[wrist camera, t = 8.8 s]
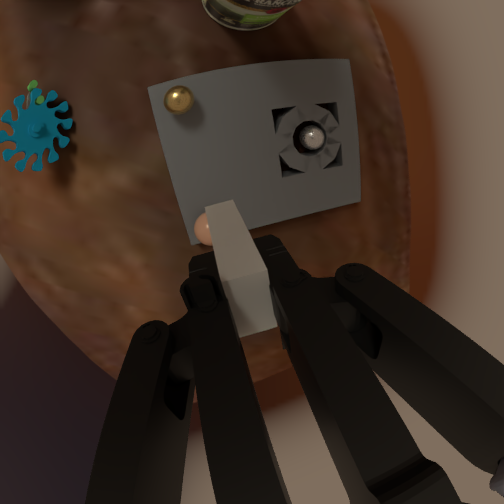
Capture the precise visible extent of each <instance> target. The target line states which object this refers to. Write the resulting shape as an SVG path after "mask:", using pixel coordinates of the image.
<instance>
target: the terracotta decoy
mask: <svg viewBox="0 0 504 504" xmlns="http://www.w3.org/2000/svg"><path fill="white" fill-rule="evenodd" d="M194 232H195V236H196V237H197V239H198V240H199V241H200V242H201V243H203V244H205V245H208V246H213V244H212V240H211V235H210V230H209V226H208V221H207V216H206V212H205V213H203V214H201V215H200V216H199V217H198V218H197V220H196V222H195V225H194Z"/></svg>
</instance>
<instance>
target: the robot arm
mask: <svg viewBox="0 0 504 504" xmlns="http://www.w3.org/2000/svg"><path fill="white" fill-rule="evenodd" d="M205 211H206V216H207V221H208V226H209V230H210V235H211V240H212V244H213V249H214V251H211V252H208V253H204V254H201V255H197V256H193V257H192V259H191V261H190V263H189V278H188V279H186V280H185V281H184V282H183V284H182V285H181V287H180V293H181V296H182V298H183V300H184V303H185V305H186V307H187V309H188V312H187V313H186V314H185V315H184V316H183V317H182V318H181V319H179V320H178V321H176V322H174V323H172V324H170V325H167V324H166V323H165V322H163V321H159V320H154V321H149V322H147V323H145V324H143V325H141V326H140V327H139V328H138V329H137V330H136V332H135V333H134V335H133V337H132V340H131V343H130V345H129V348H128V351H127V354H126V356H125V359H124V362H123V365H122V368H121V371H120V374H119V377H118V380H117V383H116V386H115V389H114V392H113V395H112V398H111V401H110V404H109V408H108V411H107V415H106V418H105V421H104V425H103V428H102V432H101V436H100V439H99V443H98V447H97V451H96V455H95V459H94V463H93V468H92V472H91V476H90V481H89V486H88V491H87V496H86V501H85V504H180V501H181V491H182V483H183V474H184V465H185V457H186V448H187V441H188V433H189V426H190V425H189V424H190V418H191V411H192V404H193V397H194V390H195V385H196V392H197V400H198V407H199V413H200V420H201V426H202V432H203V438H204V444H205V450H206V455H207V461H208V466H209V471H210V476H211V480H212V485H213V489H214V494H215V499H216V502H217V504H292V503H291V500H290V497H289V495H288V491H287V488H286V486H285V483H284V480H283V477H282V474H281V471H280V468H279V465H278V462H277V459H276V456H275V453H274V450H273V447H272V444H271V441H270V437H269V434H268V431H267V428H266V425H265V421H264V418H263V415H262V412H261V408H260V405H259V402H258V399H257V395H256V392H255V389H254V385H253V382H252V378H251V375H250V371H249V368H248V364H247V361H246V357H245V354H244V350H243V347H242V344H241V341H240V337H244V336H248V335H251V334H254V333H258V332H261V331H265V330H268V329H271V328H275V327H277V323H278V325H279V327H280V333H281V339H282V345H283V349H286V350H287V352H288V355H289V357H290V359H291V362H292V364H293V367H294V369H295V371H296V374H297V376H298V378H299V381H300V383H301V386H302V388H303V390H304V393H305V395H306V397H307V400H308V402H309V405H310V407H311V410H312V412H313V414H314V416H315V419H316V421H317V423H318V426H319V428H320V431H321V433H322V436H323V438H324V440H325V443H326V445H327V447H328V450H329V452H330V454H331V457H332V459H333V461H334V464H335V466H336V468H337V471H338V473H339V475H340V478H341V480H342V482H343V485H344V487H345V489H346V492H347V494H348V497H349V500H350V504H468V503H463V502H461V501H460V499H459V497H458V495H457V493H456V491H455V489H454V487H453V485H452V483H451V481H450V480H449V478H448V476H447V474H446V473H445V471H444V470H443V468H442V467H441V466H439V465H438V464H437V463H436V462H433V461H431V460H428V459H426V458H425V457H424V456H423V455H422V453H421V452H420V450H419V448H418V447H417V444H416V443H415V441H414V439H413V437H412V436H411V434H410V432H409V430H408V429H407V427H406V425H405V423H404V422H403V420H402V418H401V417H400V415H399V413H398V412H397V410H396V408H395V406H394V405H393V403H392V401H391V400H390V398H389V396H388V395H387V393H386V392H385V390H384V388H383V387H382V385H381V383H380V382H379V380H378V378H377V377H376V375H375V373H374V372H376V373H377V374H378V375H379V376H380V377H381V378H382V379H383V380H384V381H385V382H386V383H387V384H388V385H389V386H390V387H391V388H392V389H393V390H394V391H395V392H397V393H398V394H399V395H400V396H401V397H402V398H403V399H404V400H405V401H406V402H407V403H408V404H409V405H410V406H411V407H412V408H413V409H414V410H415V411H416V412H418V413H419V414H420V415H421V416H422V417H423V418H424V419H425V420H426V421H427V422H428V423H429V424H430V425H431V426H432V427H433V428H434V429H435V430H436V431H437V432H438V433H440V434H441V435H442V436H443V437H444V438H445V439H446V440H447V441H448V442H449V443H450V444H451V445H452V446H453V447H454V448H455V449H457V451H459V452H460V453H461V454H462V455H463V456H464V457H465V458H466V459H467V460H468V461H470V462H471V463H472V464H473V465H475V466H476V467H478V468H480V469H481V470H483V471H485V472H488V473H490V474H493V477H492V478H491V480H490V489H491V490H493V491H497V493H499V494H500V495H501V496H503V497H504V365H503V364H502V363H501V362H499V361H498V360H497V359H496V358H494V357H493V356H492V355H491V354H489V353H488V352H487V351H486V350H484V349H483V348H482V347H481V346H479V345H478V344H477V343H475V342H474V341H473V340H471V339H470V338H469V337H467V336H466V335H464V333H462V332H461V331H460V330H458V329H457V328H455V327H454V326H453V325H451V324H450V323H449V322H447V321H446V320H445V319H443V318H442V317H441V316H439V315H438V314H436V313H435V312H434V311H432V310H431V309H429V308H428V307H426V306H425V305H424V304H422V303H421V302H419V301H418V300H417V299H415V298H414V297H412V296H411V295H410V294H408V293H407V292H405V291H404V290H402V289H401V288H399V287H398V286H396V285H395V284H393V283H392V282H390V281H389V280H387V279H386V278H385V277H383V276H382V275H380V274H378V273H377V272H375V271H374V270H372V269H371V268H369V267H368V266H365V265H363V264H359V263H348V264H345V265H343V266H341V267H340V268H338V269H337V271H336V273H335V277H327V278H315V277H312V276H311V275H310V274H309V273H308V272H307V271H305V270H302V269H299V268H298V266H297V265H296V263H295V261H294V260H293V258H292V257H291V255H290V254H289V252H288V251H287V249H286V248H285V246H284V245H283V243H282V242H281V240H280V239H279V238H277V237H275V236H273V235H271V234H270V235H267V236H263V237H259V238H256V239H252V237H251V235H250V233H249V231H248V229H247V227H246V225H245V223H244V221H243V219H242V217H241V215H240V213H239V211H238V209H237V207H236V205H235V203H234V201H233V200H229V201H225V202H222V203H218V204H214V205H210V206H207V207H205ZM276 320H277V322H276ZM373 371H374V372H373Z"/></svg>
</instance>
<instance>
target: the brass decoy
mask: <svg viewBox="0 0 504 504" xmlns="http://www.w3.org/2000/svg"><path fill="white" fill-rule="evenodd" d="M163 104H164V107H165V109H166V110H167V111H168V112H170V113H172V114H175V115H180V114H184V113H186V112H188V111H189V110H190V109H191V108H192V106H193V104H194V94H193V92H192V91H191V89H189V88H188V87H186V86H183V85H177V86H174V87H172V88H170V89H169V90H168V91H167V92H166V93H165V95H164V98H163Z"/></svg>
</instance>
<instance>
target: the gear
mask: <svg viewBox="0 0 504 504" xmlns="http://www.w3.org/2000/svg"><path fill="white" fill-rule="evenodd" d="M37 84H38V83H37V81H36V80H33V81H31V82H30V84H29V85H28V91H30V93H29V94H28V96H27V110H23V109H22V104H23V102H24V99H25V97H24V95H20V96H18V97H16V98H15V99H14V105H15V106H16V107H17V110H18V120H17V121H13V120H12V118H11V116H12V114H11V111H10V110H7V111H6V112H5V113H4V114H3V116H2V118H1V121H2V122H4V123H8V124H9V125H10V126H11V127H12V128H13V130H14V134H13V135H12V136H8V135H7V133H6V131H4V130H1V131H0V143H2V142H4V141H12V142H15V143H16V149H15V150H10V149H6V150H4V151H3V158H4V160H5V161H8V160H10V158H11V157H12V156H13V155H14V154H15V153H17V152H21V151H23V152H24V153H25V158H24V159H23V160H20V161H18V162H17V163H16V164H15V168H16V169H17V170H18V171H20V172H22V171H23V170H24V169H25V166H26V162H27V160H28V158H29V157H30V156H31V155H32V154H33V153H35V154H37V160H36V161H35V162H34V163H33V165H32V170H33V171H41V170H42V168H43V165H42V154H43V152H44V149H45V148H48V149H49V155H48V162H49V163H52V162H55V161H56V160H58V159H59V156H58V154H57V153H56V152H55V150H54V148H53V139H54V137H56V138H58V143H59V147H60V148H64V147H66V146H67V144H68V143H69V141H70V140H69V138H68V137H65V136H62V135H61V134H60V133H59V132H58V130H57V125H58V124H61V125H62V127H63V129H65V130H68V129H70V128H71V126H72V121H73V120H72V119H71V118H68V119H65V120H62V119H58V118H56V117H55V115H54V113H55V111H58V112H60V113H64V112H66V111H67V110H68V104H67V101H64V102H62V103H61V104H60V105H59V106H57V107H55V108H47V106H46V104H47V102H52V101H54V100H55V99H56V98H57V97H58V95H57V93H56V92H55V91H54V90H51V91H50V92H49V93H48V94H47V97H46V99H45V101H44V97H43V96H40V95H41V93H42V90H41V89H38V88H36V86H37Z"/></svg>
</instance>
